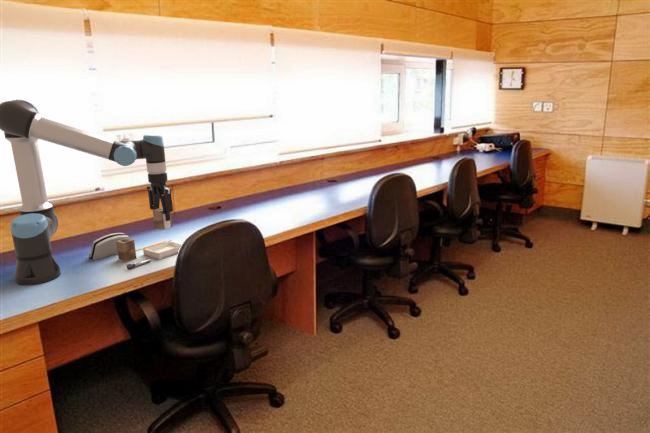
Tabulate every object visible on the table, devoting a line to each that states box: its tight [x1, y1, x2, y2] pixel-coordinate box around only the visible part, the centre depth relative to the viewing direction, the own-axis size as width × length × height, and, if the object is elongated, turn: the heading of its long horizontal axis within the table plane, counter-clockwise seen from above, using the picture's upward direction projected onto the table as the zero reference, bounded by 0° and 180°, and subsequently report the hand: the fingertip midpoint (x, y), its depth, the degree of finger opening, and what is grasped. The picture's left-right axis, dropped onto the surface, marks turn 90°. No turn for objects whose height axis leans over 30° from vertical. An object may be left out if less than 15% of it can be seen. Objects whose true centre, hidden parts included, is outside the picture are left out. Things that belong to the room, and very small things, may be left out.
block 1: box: [116, 237, 137, 263], centre depth 208 cm, size 5×5×8 cm
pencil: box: [135, 240, 167, 252], centre depth 223 cm, size 1×18×1 cm, turn 142°
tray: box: [142, 240, 183, 260], centre depth 215 cm, size 14×11×3 cm
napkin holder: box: [88, 232, 130, 261], centre depth 214 cm, size 17×5×10 cm, turn 143°
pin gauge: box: [126, 259, 151, 270], centre depth 201 cm, size 10×2×2 cm, turn 143°
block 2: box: [152, 206, 173, 231], centre depth 212 cm, size 5×5×8 cm
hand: (163, 226), depth 213 cm, fingers closed on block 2, 5 cm apart
